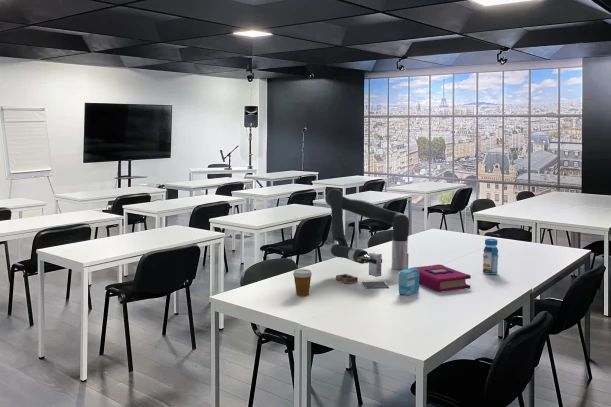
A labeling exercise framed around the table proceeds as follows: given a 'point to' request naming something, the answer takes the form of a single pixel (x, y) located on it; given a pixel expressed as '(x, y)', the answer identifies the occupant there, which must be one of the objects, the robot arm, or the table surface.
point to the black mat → (375, 284)
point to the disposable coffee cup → (302, 281)
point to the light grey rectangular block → (375, 268)
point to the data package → (408, 281)
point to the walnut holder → (346, 278)
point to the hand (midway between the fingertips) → (378, 261)
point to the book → (442, 278)
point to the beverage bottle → (490, 257)
